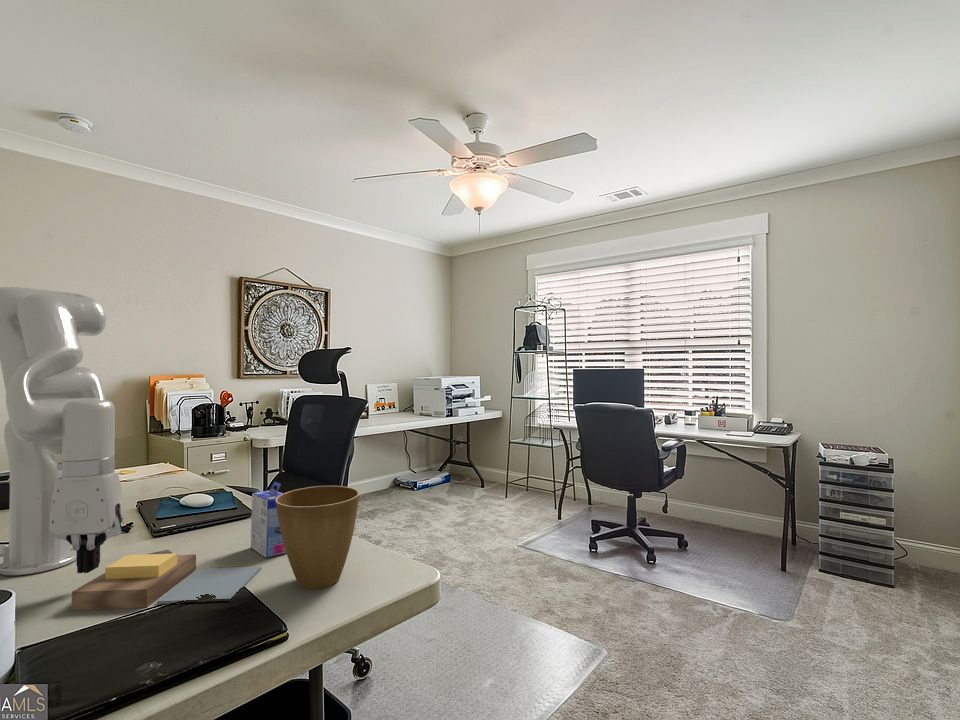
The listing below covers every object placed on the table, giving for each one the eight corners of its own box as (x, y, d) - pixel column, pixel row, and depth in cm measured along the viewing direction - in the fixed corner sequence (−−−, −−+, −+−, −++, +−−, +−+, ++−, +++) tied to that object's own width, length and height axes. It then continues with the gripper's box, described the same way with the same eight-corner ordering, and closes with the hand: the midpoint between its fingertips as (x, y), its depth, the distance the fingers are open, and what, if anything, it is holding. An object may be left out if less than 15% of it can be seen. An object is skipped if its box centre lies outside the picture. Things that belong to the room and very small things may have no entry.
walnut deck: (71, 610, 82) (71, 591, 82) (133, 571, 98) (133, 556, 98) (147, 607, 83) (147, 589, 83) (196, 569, 99) (196, 554, 99)
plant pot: (265, 579, 94) (265, 493, 94) (341, 560, 103) (341, 482, 103) (289, 607, 82) (289, 510, 83) (373, 583, 91) (372, 495, 92)
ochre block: (105, 578, 87) (105, 567, 88) (127, 565, 93) (127, 555, 94) (158, 577, 88) (158, 565, 88) (177, 564, 94) (177, 553, 94)
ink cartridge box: (292, 552, 108) (292, 485, 108) (266, 559, 104) (266, 489, 105) (275, 541, 115) (274, 478, 116) (249, 547, 111) (249, 482, 112)
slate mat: (156, 604, 84) (157, 601, 84) (198, 571, 98) (198, 568, 98) (230, 601, 85) (230, 598, 85) (261, 569, 99) (261, 566, 99)
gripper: (28, 473, 86) (27, 580, 86) (118, 470, 87) (117, 577, 87) (61, 465, 94) (61, 564, 93) (144, 463, 95) (144, 561, 94)
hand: (88, 570), depth 90 cm, fingers closed
